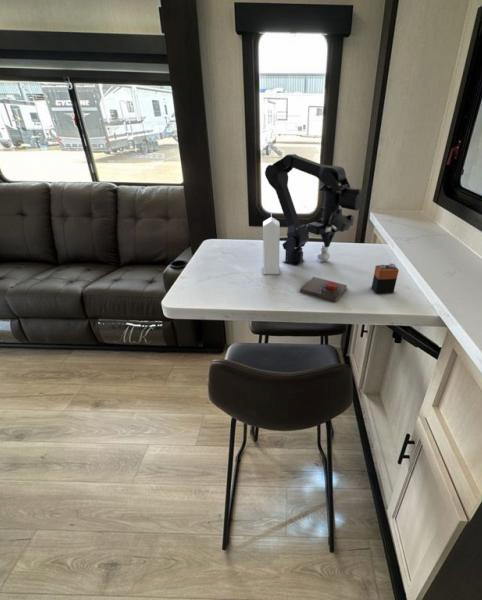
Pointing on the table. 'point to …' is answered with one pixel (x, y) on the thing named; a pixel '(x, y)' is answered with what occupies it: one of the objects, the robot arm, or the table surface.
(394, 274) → the battery
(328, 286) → the button
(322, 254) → the white bunny figurine
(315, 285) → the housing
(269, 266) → the milk
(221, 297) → the table surface
